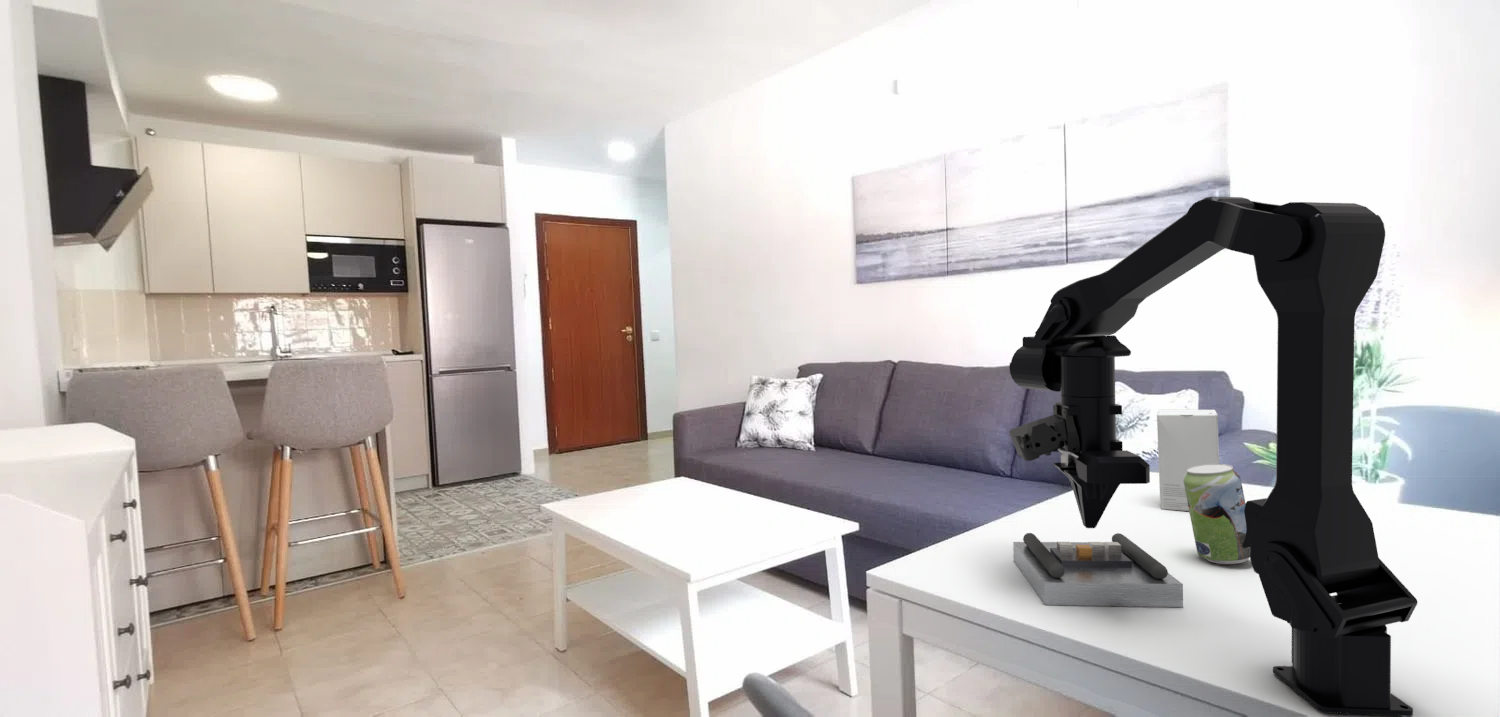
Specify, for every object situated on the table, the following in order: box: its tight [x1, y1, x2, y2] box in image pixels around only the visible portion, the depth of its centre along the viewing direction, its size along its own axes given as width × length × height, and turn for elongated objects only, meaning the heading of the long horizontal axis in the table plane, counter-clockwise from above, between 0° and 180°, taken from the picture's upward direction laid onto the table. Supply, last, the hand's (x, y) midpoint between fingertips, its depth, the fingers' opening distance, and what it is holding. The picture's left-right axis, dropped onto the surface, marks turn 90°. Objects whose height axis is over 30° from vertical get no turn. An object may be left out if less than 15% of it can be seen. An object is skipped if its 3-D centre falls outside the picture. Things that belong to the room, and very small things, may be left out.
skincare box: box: [1156, 408, 1220, 512], centre depth 110 cm, size 8×7×16 cm
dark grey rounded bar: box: [1022, 532, 1065, 578], centre depth 81 cm, size 13×2×2 cm, turn 172°
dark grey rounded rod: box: [1111, 532, 1169, 579], centre depth 80 cm, size 13×2×2 cm, turn 172°
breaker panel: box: [1012, 541, 1184, 608], centre depth 81 cm, size 14×14×4 cm
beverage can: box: [1184, 463, 1250, 565], centre depth 86 cm, size 6×7×12 cm
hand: (1089, 527), depth 81 cm, fingers closed
